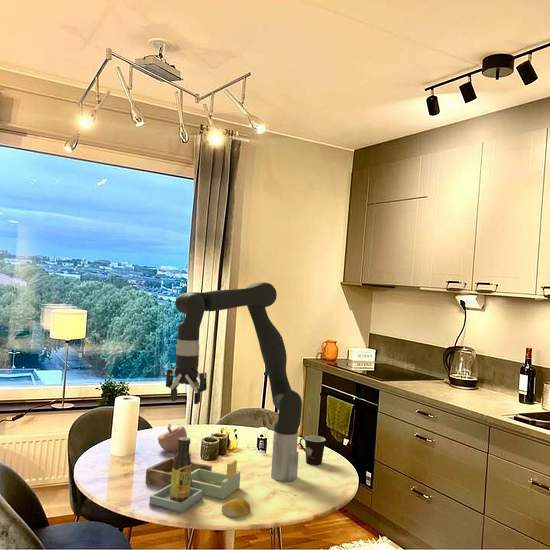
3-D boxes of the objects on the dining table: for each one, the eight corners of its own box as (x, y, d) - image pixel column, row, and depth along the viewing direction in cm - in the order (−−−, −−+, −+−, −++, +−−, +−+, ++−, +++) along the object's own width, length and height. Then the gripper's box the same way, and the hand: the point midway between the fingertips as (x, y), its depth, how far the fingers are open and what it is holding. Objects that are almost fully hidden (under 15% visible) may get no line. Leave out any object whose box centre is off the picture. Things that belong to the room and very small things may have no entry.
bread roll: (254, 511, 167) (255, 499, 167) (237, 520, 160) (237, 507, 160) (234, 504, 172) (235, 491, 172) (216, 512, 165) (217, 500, 165)
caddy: (239, 487, 185) (241, 457, 186) (223, 499, 174) (225, 467, 174) (197, 477, 192) (199, 449, 192) (179, 488, 181) (181, 458, 181)
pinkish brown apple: (161, 445, 227) (162, 419, 227) (188, 447, 227) (190, 421, 227) (153, 454, 215) (155, 426, 215) (182, 456, 215) (184, 428, 215)
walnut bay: (211, 479, 191) (211, 466, 192) (189, 493, 178) (190, 479, 178) (169, 470, 198) (170, 457, 198) (145, 483, 184) (146, 469, 185)
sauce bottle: (179, 505, 166) (183, 443, 166) (165, 500, 169) (169, 438, 170) (193, 499, 171) (197, 438, 172) (179, 494, 175) (183, 434, 175)
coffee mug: (327, 465, 214) (329, 441, 214) (308, 467, 211) (310, 442, 211) (315, 456, 225) (316, 433, 225) (297, 457, 222) (298, 434, 222)
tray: (202, 499, 174) (202, 490, 174) (181, 513, 162) (181, 504, 162) (171, 491, 178) (172, 483, 178) (149, 505, 167) (149, 496, 167)
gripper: (212, 354, 174) (209, 402, 174) (175, 350, 179) (173, 397, 179) (200, 356, 167) (198, 407, 167) (163, 352, 172) (160, 401, 172)
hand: (185, 402), depth 173 cm, fingers open, 8 cm apart
